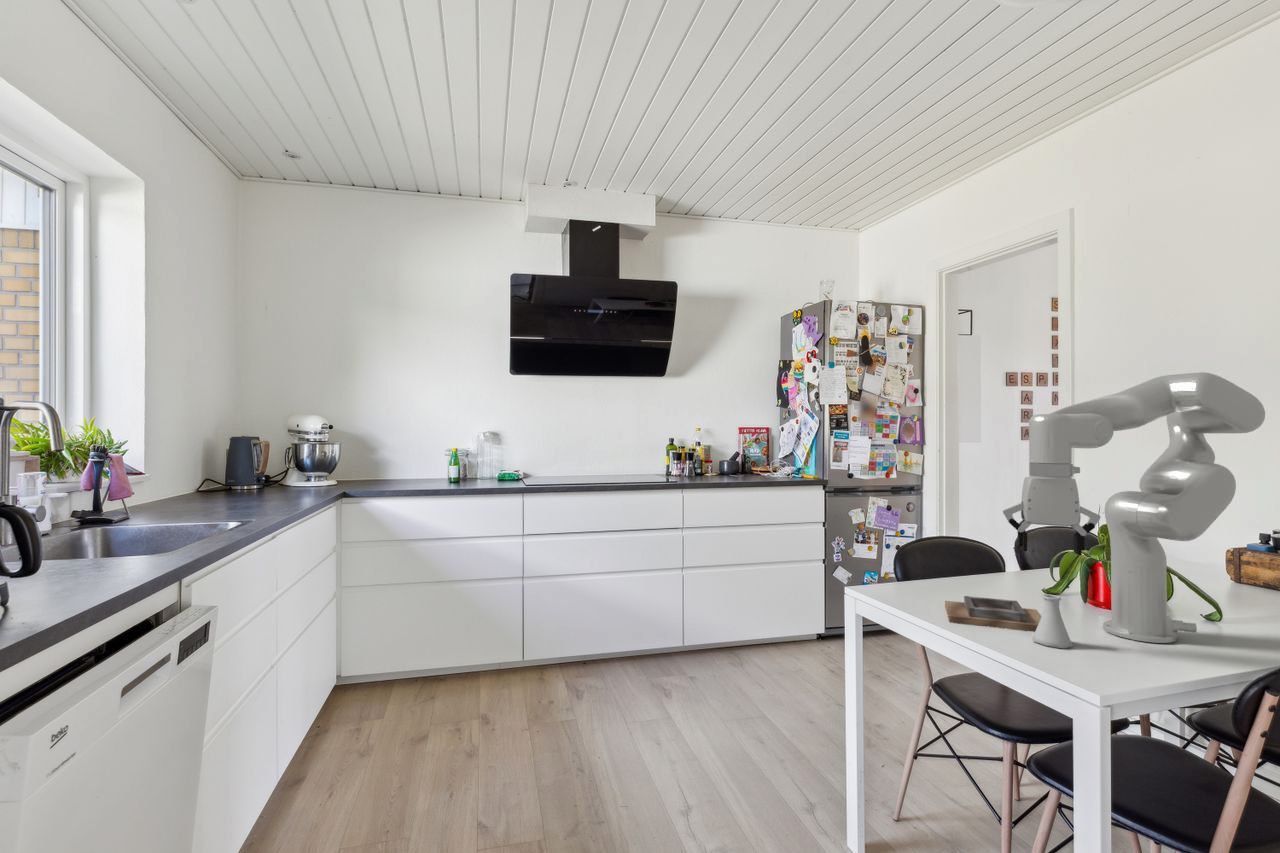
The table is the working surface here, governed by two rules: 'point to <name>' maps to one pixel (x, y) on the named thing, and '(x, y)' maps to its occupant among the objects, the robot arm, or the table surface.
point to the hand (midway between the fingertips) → (1050, 551)
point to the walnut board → (992, 613)
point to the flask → (1052, 625)
